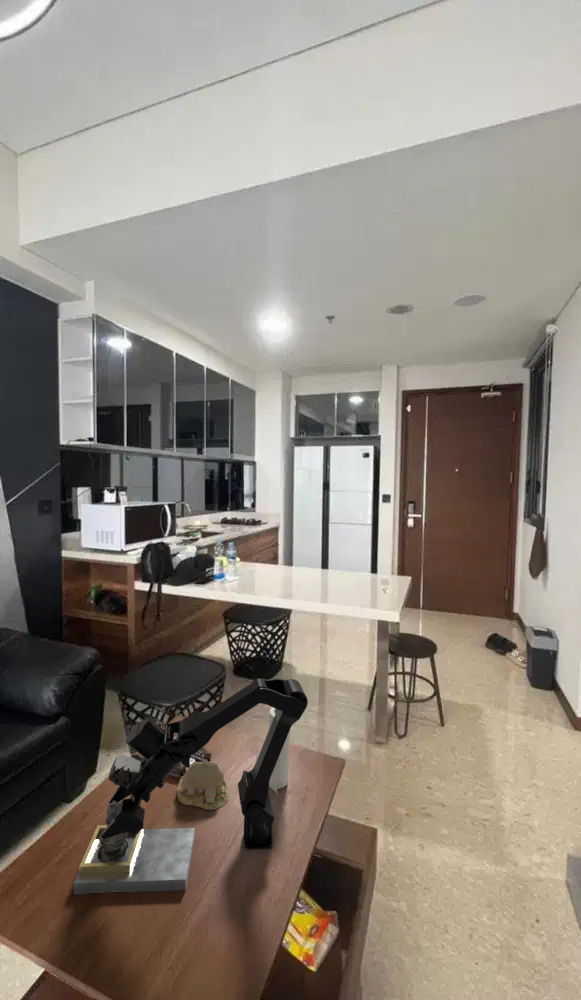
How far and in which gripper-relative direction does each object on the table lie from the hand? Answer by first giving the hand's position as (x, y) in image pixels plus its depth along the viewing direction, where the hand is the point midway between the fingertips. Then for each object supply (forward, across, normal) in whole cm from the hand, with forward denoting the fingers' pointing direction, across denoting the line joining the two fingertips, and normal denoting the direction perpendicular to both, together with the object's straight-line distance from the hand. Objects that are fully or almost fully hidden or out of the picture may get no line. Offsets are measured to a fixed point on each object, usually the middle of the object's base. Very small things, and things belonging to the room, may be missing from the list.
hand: (106, 820), depth 96 cm
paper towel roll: (-23, -17, +37) cm, 47 cm away
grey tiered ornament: (+4, 0, +6) cm, 8 cm away
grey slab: (+2, +2, +12) cm, 13 cm away
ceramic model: (-8, -16, +23) cm, 29 cm away
